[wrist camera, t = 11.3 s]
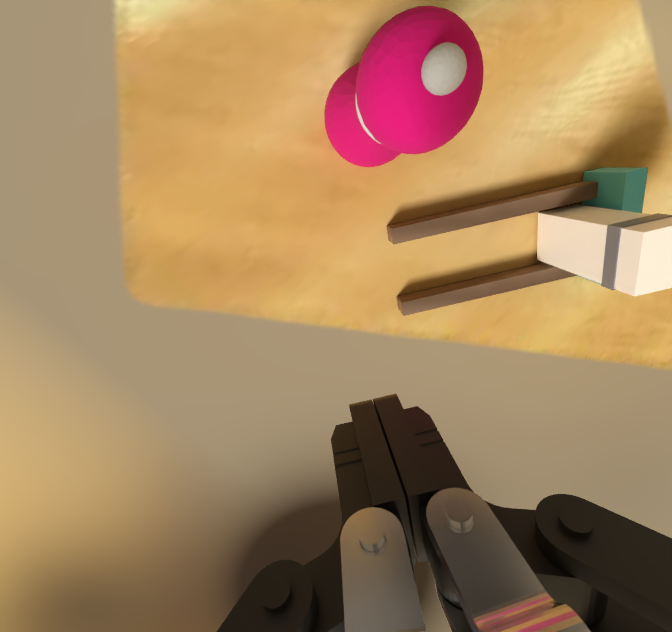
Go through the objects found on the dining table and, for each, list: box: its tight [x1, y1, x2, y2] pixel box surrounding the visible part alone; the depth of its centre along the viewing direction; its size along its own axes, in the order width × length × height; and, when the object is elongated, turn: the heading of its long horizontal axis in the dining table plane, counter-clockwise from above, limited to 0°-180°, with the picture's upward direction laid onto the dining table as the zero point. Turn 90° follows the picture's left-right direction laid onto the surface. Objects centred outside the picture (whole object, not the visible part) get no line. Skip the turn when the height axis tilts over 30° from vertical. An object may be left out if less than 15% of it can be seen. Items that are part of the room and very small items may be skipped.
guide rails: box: [387, 181, 598, 316], centre depth 37 cm, size 9×22×2 cm, turn 102°
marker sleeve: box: [537, 204, 672, 296], centre depth 32 cm, size 5×4×12 cm
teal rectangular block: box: [577, 168, 648, 284], centre depth 36 cm, size 11×2×5 cm, turn 12°
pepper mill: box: [325, 6, 483, 167], centre depth 23 cm, size 7×7×20 cm
